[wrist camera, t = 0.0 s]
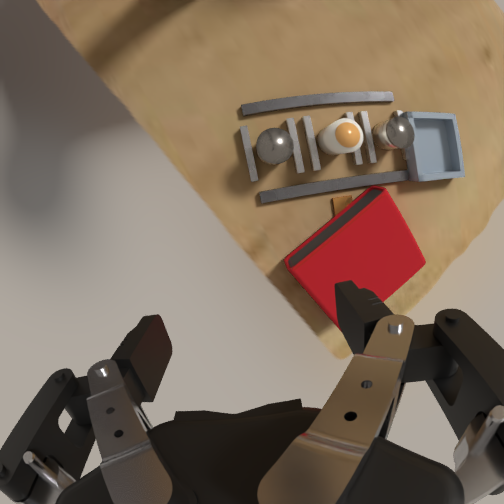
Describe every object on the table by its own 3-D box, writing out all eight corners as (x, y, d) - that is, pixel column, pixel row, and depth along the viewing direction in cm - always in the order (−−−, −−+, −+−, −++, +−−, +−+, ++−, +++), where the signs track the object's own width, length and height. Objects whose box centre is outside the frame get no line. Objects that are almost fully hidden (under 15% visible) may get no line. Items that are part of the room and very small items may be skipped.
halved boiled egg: (314, 128, 36) (328, 119, 29) (342, 125, 36) (360, 116, 29) (320, 157, 38) (335, 153, 30) (348, 153, 37) (367, 150, 30)
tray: (397, 114, 35) (406, 111, 32) (445, 115, 35) (455, 113, 32) (409, 180, 38) (418, 181, 35) (454, 175, 38) (464, 176, 35)
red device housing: (333, 317, 45) (342, 333, 40) (283, 259, 41) (288, 271, 37) (412, 252, 42) (427, 261, 37) (372, 184, 38) (387, 188, 33)
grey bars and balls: (235, 107, 36) (233, 97, 30) (393, 93, 34) (410, 84, 29) (261, 231, 41) (262, 240, 35) (413, 204, 39) (431, 209, 34)
